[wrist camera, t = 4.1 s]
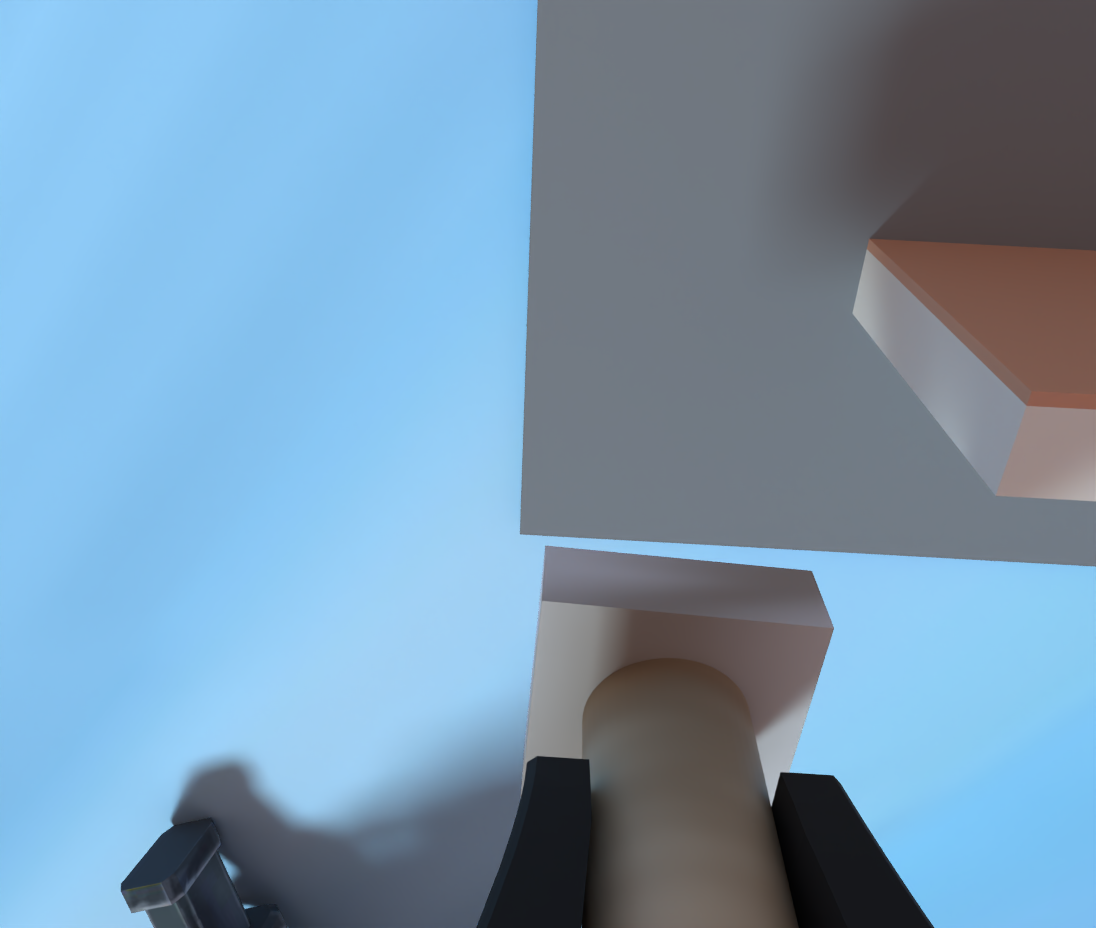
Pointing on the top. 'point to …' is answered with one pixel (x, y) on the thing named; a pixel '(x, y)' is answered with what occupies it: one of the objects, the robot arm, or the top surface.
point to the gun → (191, 884)
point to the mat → (782, 262)
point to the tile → (995, 354)
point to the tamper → (677, 727)
